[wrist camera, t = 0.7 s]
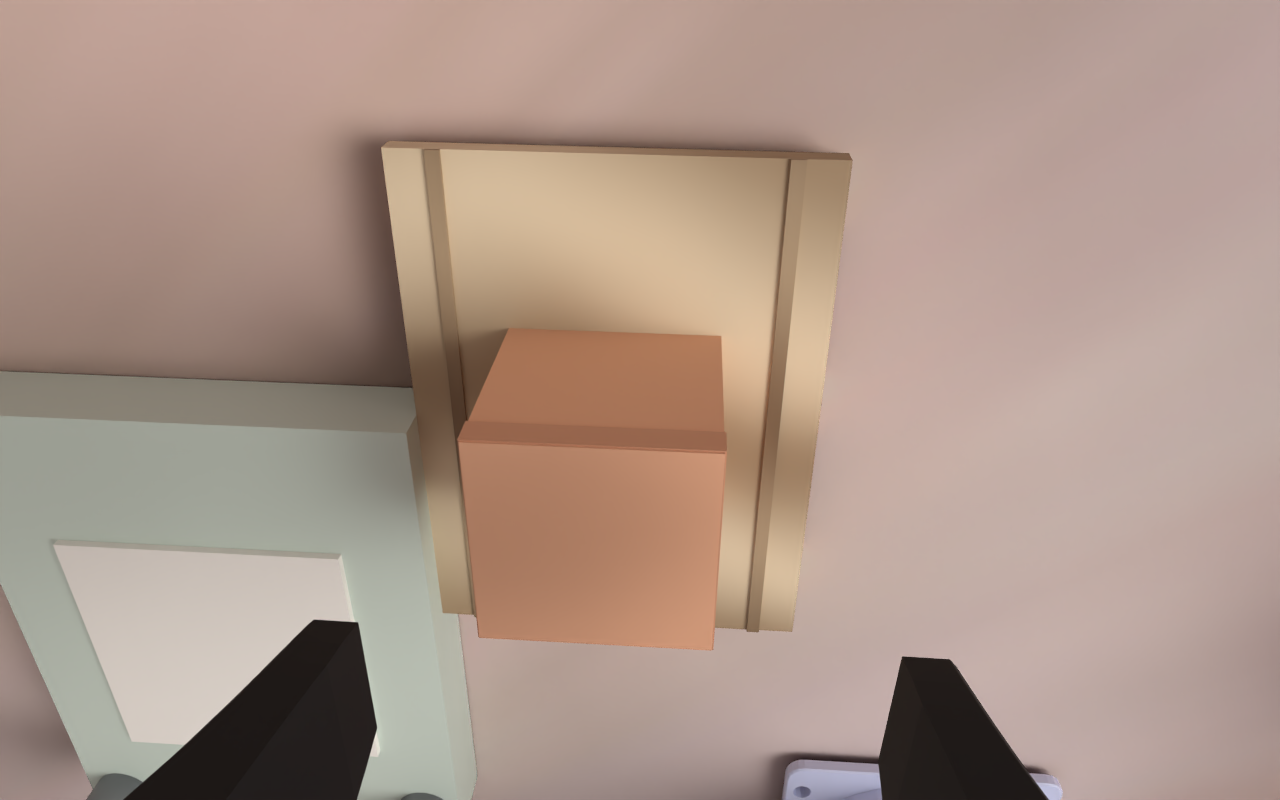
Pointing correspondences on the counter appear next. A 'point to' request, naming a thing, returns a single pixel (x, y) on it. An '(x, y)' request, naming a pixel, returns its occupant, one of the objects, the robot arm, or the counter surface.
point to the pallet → (629, 311)
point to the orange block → (597, 488)
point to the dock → (224, 562)
